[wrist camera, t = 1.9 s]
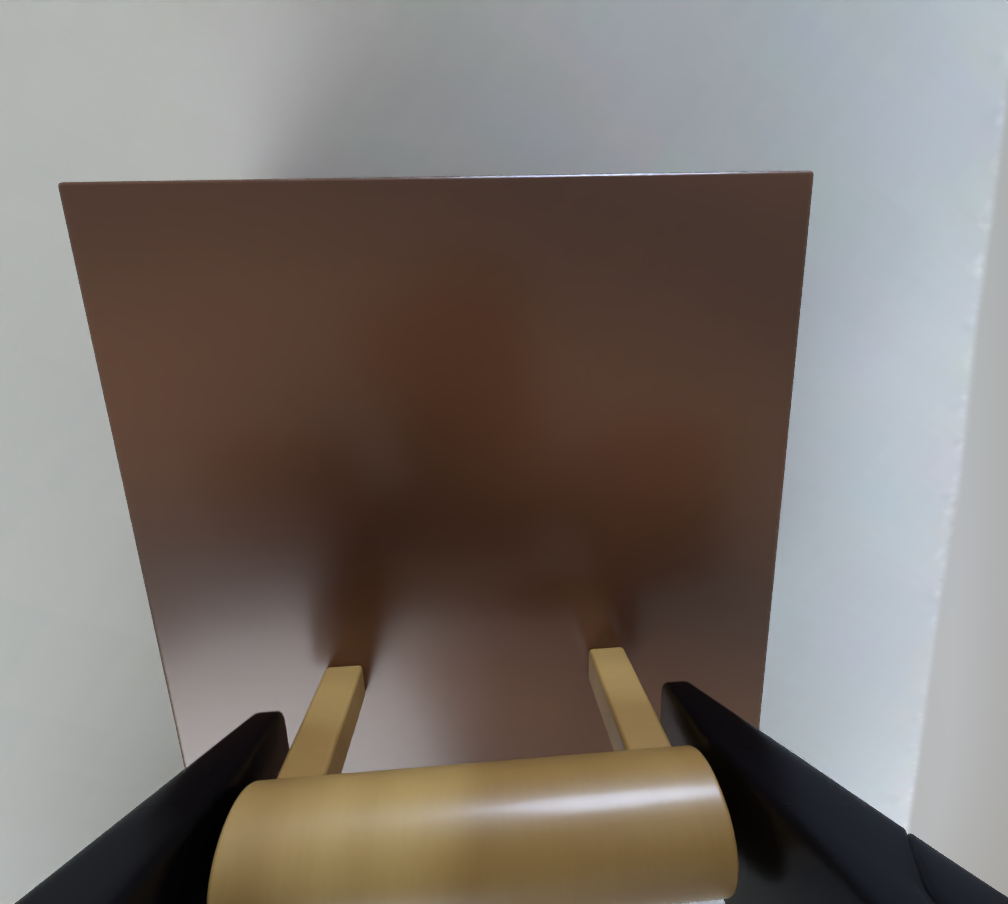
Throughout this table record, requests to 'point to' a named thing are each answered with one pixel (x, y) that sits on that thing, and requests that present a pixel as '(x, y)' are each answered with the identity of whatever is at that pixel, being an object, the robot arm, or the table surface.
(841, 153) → the table surface
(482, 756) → the lid
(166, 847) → the robot arm
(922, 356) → the table surface
